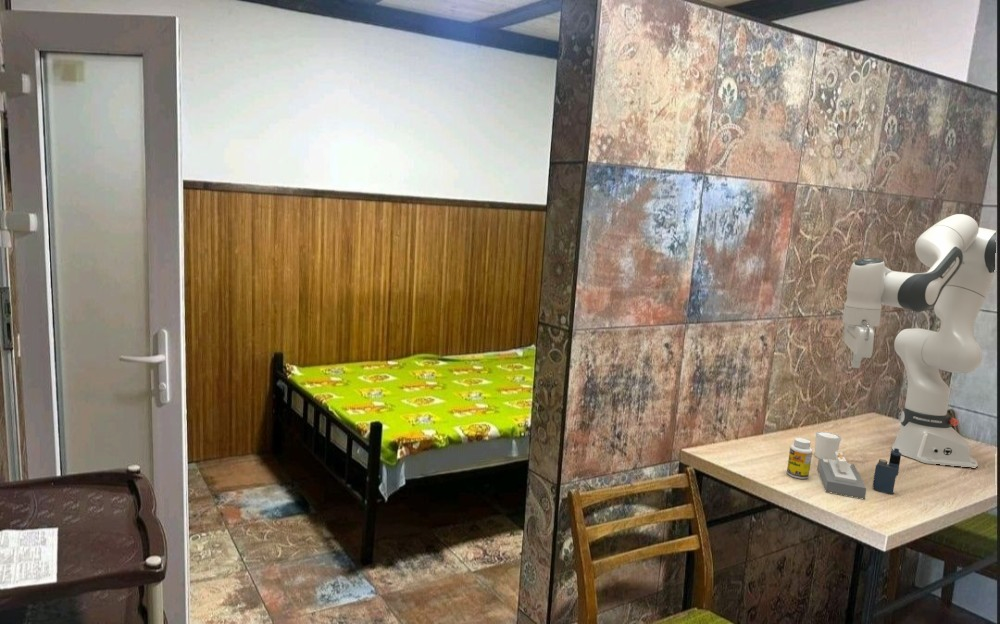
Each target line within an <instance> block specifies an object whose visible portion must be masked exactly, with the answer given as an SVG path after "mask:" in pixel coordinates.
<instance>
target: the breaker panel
mask: <svg viewBox="0 0 1000 624" xmlns="http://www.w3.org/2000/svg"><path fill="white" fill-rule="evenodd" d="M846 463H847V470H848V472H841V471H840V469H839V466H838V465H837V462H836V460H832V459H828V460H827V459H819V458H818V461H817V467H816V468H817V472H818V474H819V477H820V481H821V482H822V485H824V486H823V488H825V489H824V491H825V490H826V491H825V493H827V492H832V493H831V494H833V493H837V494H836V495H838V494H842V495H841V496H844V495H847V496H846V497H849V496H853V497H852V498H854V497H858V498H857V499H860V498H863V499H862V500H865V499H866V492H867V486H866V485H865V483H864V481H863V479H862V477H861V476H860V473H859V472H858V470H857V467H856V465H855V464H852V463H850V462H848V461H846Z"/></svg>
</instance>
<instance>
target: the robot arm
mask: <svg viewBox="0 0 1000 624" xmlns="http://www.w3.org/2000/svg"><path fill="white" fill-rule="evenodd" d="M996 231H997V230H995V229H990V228H985V227H979V224H978V222H977V221H976V220H975V219H974V218H973V217H971V216H970V215H967V214H964V213H956V214H953V215H950V216H947V217H944V219H941V220H939V221H938V222H936V223H935V224H933V225H932V226H931V227H929V228H928V229H927V230H925V231H924V232H923V233H921V234H920V235H919V237H918V238H917V240H916V241H915V244H914V245H915V246H914V250H915V255H916V257H917V258H918V260H919V261H920V262H921V263H922V264H923V265H924V266H926V267H928V268H929V269H928V270H927V271H925V272H919V273H918V272H917V273H916V272H905V271H896V270H892V269H890V268H888V267H887V266H886V263H885V261H884V260H883V259H881V258H878V257H868V258H867V257H863V258H858V259H856V260H854V261H853V262H852V264H851V267H850V269H849V274H848V278H847V283H846V284H847V285H846V295H847V297H846V301H845V303H844V306H843V307H844V308H843V314H842V323H843V324H844V327H843V328H844V331H843V332H844V333H843V336H844V337H843V341H844V344H845V345H846V346H847V347H848V349H849V350H850V366H851V367H852V368H853V369H860V368H861V362H862V361H863V359H864V358H866V359H870V358H872V356H873V352H874V342H875V341H874V340H875V339H874V338H875V332H874V331H875V330H874V327H875V328H876V327H879V326H880V322H881V314H882V306H888V307H893V308H901V309H905V310H908V311H911V312H912V311H913V312H916V313H922V312H924V311H927V310H928V309H929V308H931V307H933V311H934V314H935V315H936V316H937V318H938V319H939V320H940V326H939V330H938V331H934V330H931V329H925V328H920V327H919V328H915V327H914V328H913V327H912V328H905V329H902V330H900V331H899V333H897V335H896V336H895V339H894V344H893V345H894V346H893V347H894V350H895V352H896V354H897V356H898V357H899V358H900V359H901V361H902V363H903V366H904V369H905V372H906V373H905V374H906V377H907V389H906V397H905V404H904V406H903V407H902V410H901V415H900V427H899V430H898V433H897V436H896V439H895V440H894V443H893V444H892V446H891V449H892V451H894V449H895V448H896V449H899V452H900V453H901V456H905V457H907V458H911V459H913V460H916V461H918V462H921V463H924V464H928V465H936V464H940V465H939V466H945V465H951V466H950V467H954V466H961V467H960V468H962V467H977V466H978V467H979V463H978V461H977V460H976V459H975V458H974V457H973V456H971V447H970V444H969V442H968V441H967V439H965V438H964V437H963V436H962V435H961V434H959V432H958V431H957V430H955V429H954V428H953V427H952V426H954V427H955V426H958V425H959V420H958V419H957V418H955V417H952V415H950V414H948V408H949V402H950V396H951V389H950V387H949V385H948V384H947V383H946V382H945V381H944V380H943V379H942V376H941V374H940V373H941V372H940V370H941V371H945V372H949V373H957V374H969V373H971V372H974V371H975V370H976V369H977V368H978V367H979V366H980V365H981V362H982V359H983V352H982V348H981V347H980V345H979V344H978V342H977V341H976V338H975V333H974V332H975V323H976V321H977V320H976V319H977V318H978V314H980V313H979V312H980V310H981V308H982V307H983V304H984V302H985V300H986V298H987V295H988V294H989V290H990V288H991V285H992V282H993V278H994V275H995V274H994V273H995V272H994V270H995V253H996V242H995V240H996ZM933 305H934V306H933Z"/></svg>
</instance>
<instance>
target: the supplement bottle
mask: <svg viewBox="0 0 1000 624" xmlns="http://www.w3.org/2000/svg"><path fill="white" fill-rule="evenodd" d="M812 457H813V449H812V448H811V441H810V440H809V439H806V438H803V437H795V438H794V442H793V443H792V444H791V445H790V447H789V453H788V461H787V468H786V474H787V475H788V476H790V477H792V478H795V479H799V480H800V479H801V480H806V479H808V478H809V476H810V472H811V471H810V470H811V463H812Z"/></svg>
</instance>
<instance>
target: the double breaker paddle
mask: <svg viewBox="0 0 1000 624" xmlns="http://www.w3.org/2000/svg"><path fill="white" fill-rule="evenodd" d="M835 456H836V462H837V465H838V466H839V469H840V471H841V472H848V470H847V463H846V462H847V460H846V458H845V456H844V454H843V452H842V450H840V451H839V450H838V451H836V452H835Z"/></svg>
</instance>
